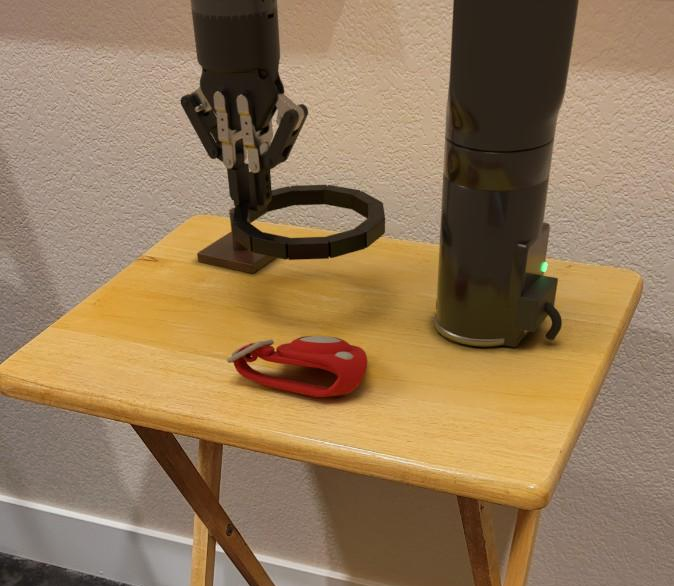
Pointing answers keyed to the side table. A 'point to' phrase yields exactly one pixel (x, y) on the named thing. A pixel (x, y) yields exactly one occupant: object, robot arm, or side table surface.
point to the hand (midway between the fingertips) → (251, 206)
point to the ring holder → (232, 254)
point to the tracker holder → (306, 363)
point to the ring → (311, 245)
